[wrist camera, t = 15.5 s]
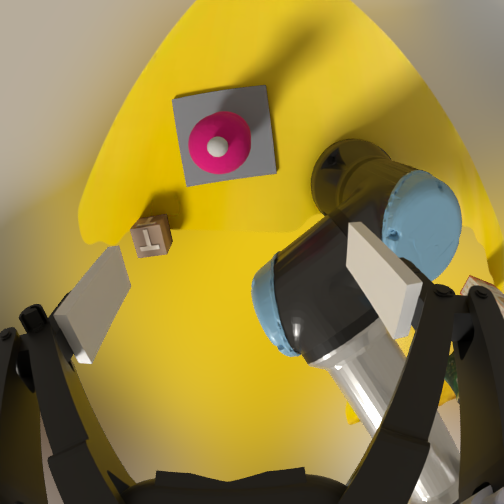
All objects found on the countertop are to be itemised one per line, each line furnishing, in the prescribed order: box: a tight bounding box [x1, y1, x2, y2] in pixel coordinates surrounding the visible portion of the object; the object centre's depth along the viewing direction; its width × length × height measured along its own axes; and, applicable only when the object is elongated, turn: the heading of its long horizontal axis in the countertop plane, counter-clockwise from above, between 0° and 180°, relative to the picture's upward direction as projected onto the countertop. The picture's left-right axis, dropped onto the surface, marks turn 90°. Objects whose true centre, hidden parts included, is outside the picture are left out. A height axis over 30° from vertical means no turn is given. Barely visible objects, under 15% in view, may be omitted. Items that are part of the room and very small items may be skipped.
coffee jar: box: [445, 352, 460, 404], centre depth 63 cm, size 10×8×19 cm
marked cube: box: [130, 214, 173, 258], centre depth 45 cm, size 5×5×5 cm
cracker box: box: [460, 275, 504, 318], centre depth 49 cm, size 14×6×21 cm, turn 73°
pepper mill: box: [188, 111, 251, 174], centre depth 31 cm, size 7×7×20 cm
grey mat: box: [172, 85, 277, 187], centre depth 40 cm, size 14×14×1 cm
